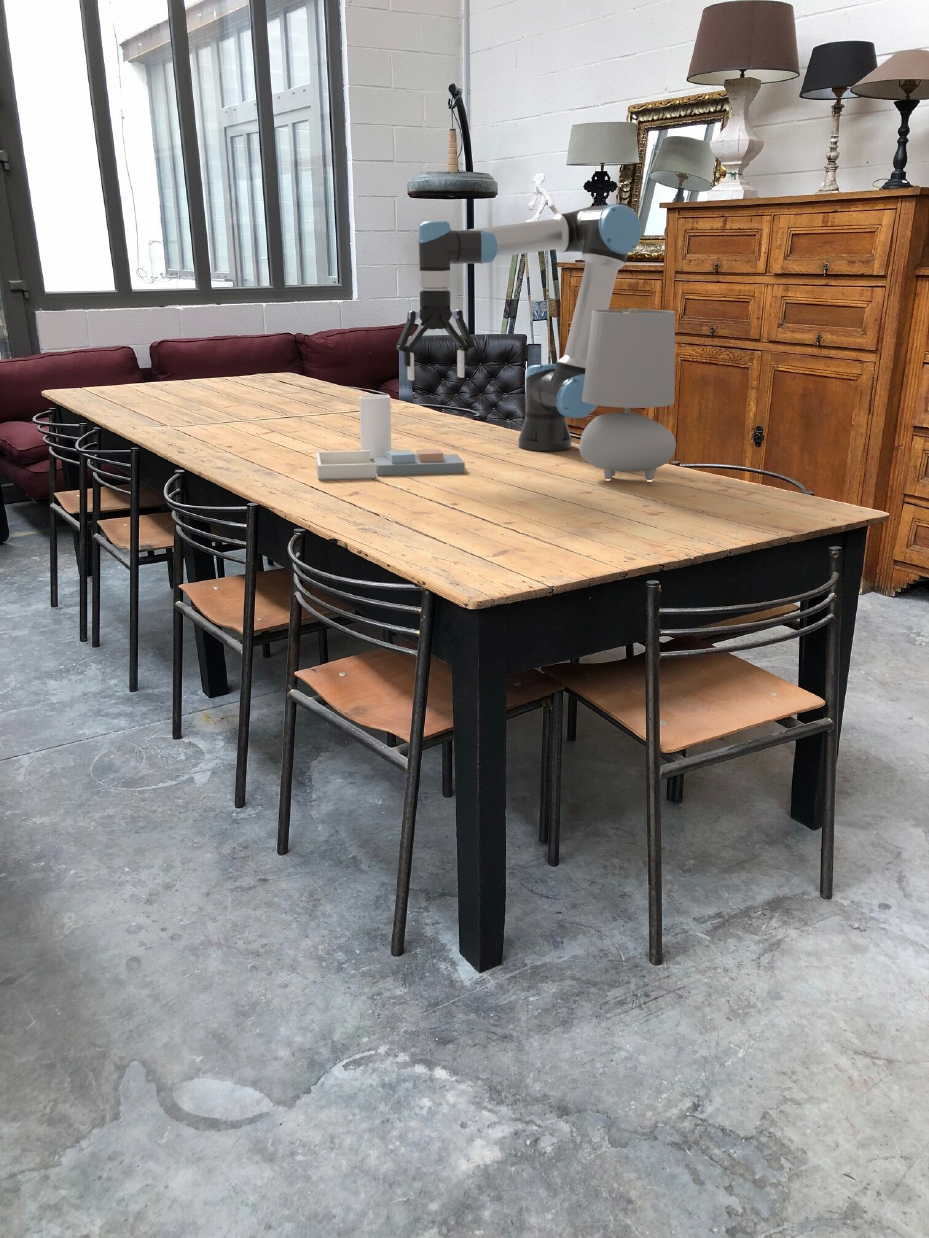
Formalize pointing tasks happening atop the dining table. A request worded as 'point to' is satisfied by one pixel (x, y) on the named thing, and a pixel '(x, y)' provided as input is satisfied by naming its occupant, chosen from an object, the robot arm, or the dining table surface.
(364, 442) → the cup
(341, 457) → the box
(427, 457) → the terracotta tile
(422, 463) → the board
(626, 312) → the table lamp
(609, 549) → the dining table surface
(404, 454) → the blue tile
